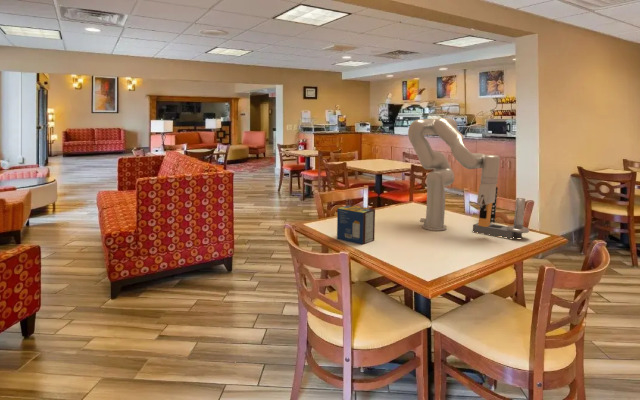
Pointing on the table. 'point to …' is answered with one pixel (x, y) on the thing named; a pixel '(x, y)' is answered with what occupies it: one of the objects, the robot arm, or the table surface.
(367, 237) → the protein box
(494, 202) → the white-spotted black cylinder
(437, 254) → the table surface
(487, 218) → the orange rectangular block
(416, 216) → the table surface
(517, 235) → the rosette post
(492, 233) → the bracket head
